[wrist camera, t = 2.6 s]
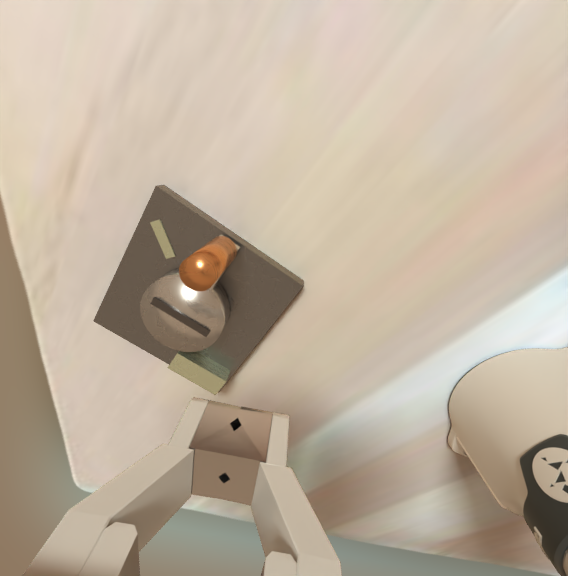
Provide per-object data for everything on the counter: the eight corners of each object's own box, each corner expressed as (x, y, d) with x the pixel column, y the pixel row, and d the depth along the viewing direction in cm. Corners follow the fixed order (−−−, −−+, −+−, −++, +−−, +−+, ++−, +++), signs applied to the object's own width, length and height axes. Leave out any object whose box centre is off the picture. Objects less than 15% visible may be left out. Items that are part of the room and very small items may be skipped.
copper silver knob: (273, 257, 26) (258, 294, 18) (206, 350, 31) (172, 411, 23) (198, 206, 25) (149, 223, 17) (141, 311, 30) (82, 362, 22)
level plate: (303, 280, 29) (303, 293, 26) (222, 383, 35) (213, 404, 32) (164, 184, 26) (145, 186, 23) (102, 314, 32) (81, 329, 29)
